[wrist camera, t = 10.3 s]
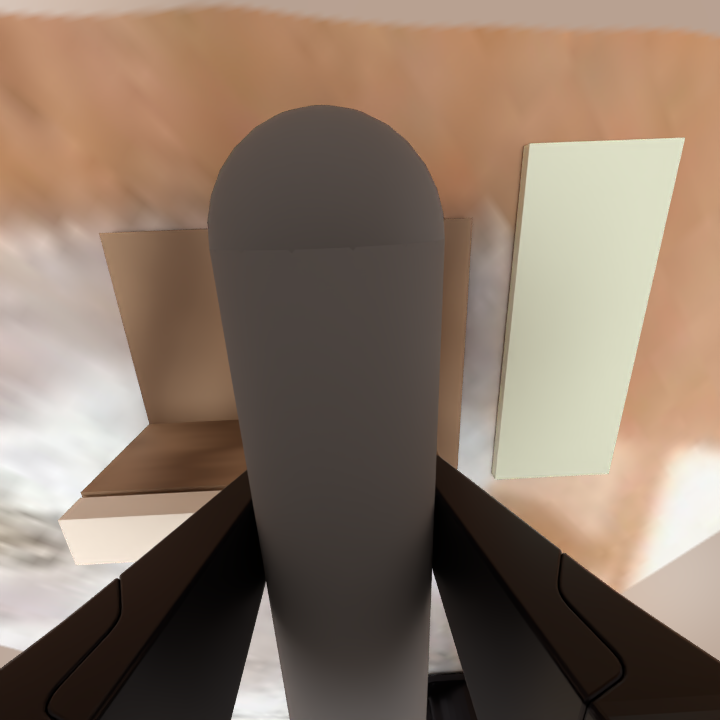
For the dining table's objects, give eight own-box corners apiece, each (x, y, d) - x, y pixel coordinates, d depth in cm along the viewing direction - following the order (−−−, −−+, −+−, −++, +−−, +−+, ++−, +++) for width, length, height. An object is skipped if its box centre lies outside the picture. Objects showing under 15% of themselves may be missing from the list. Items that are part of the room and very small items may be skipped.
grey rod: (422, 134, 6) (492, 48, 3) (411, 753, 12) (431, 920, 9) (231, 141, 6) (121, 62, 3) (316, 759, 12) (306, 930, 9)
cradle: (466, 213, 18) (527, 207, 12) (451, 491, 23) (487, 584, 17) (111, 228, 18) (-15, 229, 12) (181, 505, 23) (121, 605, 17)
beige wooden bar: (251, 488, 15) (225, 560, 12) (258, 531, 16) (235, 610, 12) (80, 497, 15) (6, 572, 12) (95, 540, 16) (30, 622, 12)
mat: (673, 140, 17) (684, 137, 17) (602, 467, 23) (608, 473, 23) (523, 146, 17) (529, 143, 16) (491, 473, 23) (495, 479, 23)
